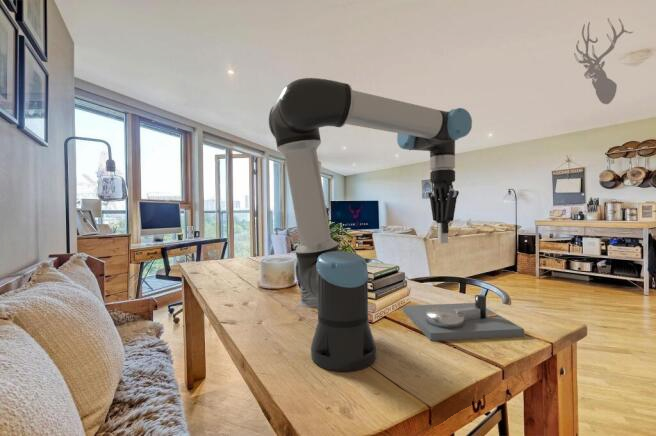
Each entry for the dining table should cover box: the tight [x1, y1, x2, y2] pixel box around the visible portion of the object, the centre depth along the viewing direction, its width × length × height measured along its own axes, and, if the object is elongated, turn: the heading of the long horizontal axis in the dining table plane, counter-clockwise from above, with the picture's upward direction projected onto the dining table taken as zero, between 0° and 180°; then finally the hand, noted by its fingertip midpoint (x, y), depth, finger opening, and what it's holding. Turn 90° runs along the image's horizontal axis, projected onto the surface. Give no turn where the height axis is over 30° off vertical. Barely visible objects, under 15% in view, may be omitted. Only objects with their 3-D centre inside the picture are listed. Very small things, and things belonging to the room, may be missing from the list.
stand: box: [402, 302, 525, 342], centre depth 89 cm, size 25×22×2 cm
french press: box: [297, 285, 318, 308], centre depth 110 cm, size 10×12×25 cm
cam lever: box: [426, 294, 487, 329], centre depth 86 cm, size 18×10×6 cm, turn 105°
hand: (442, 243), depth 98 cm, fingers closed
